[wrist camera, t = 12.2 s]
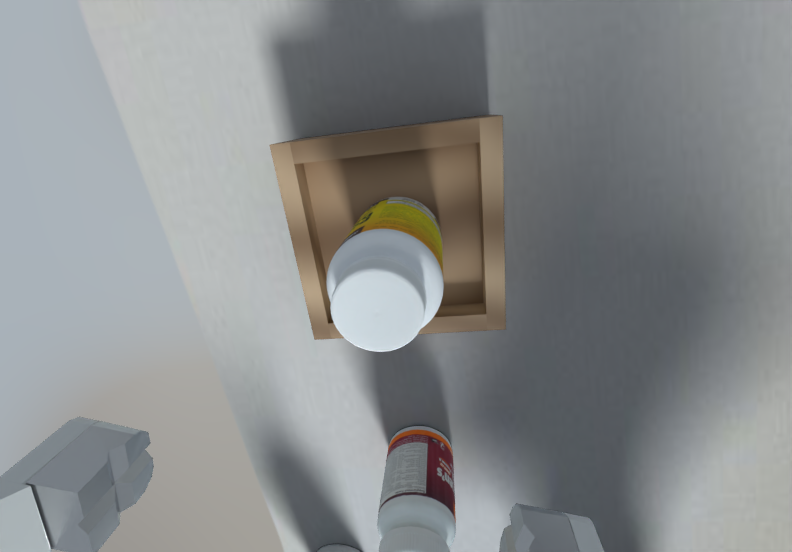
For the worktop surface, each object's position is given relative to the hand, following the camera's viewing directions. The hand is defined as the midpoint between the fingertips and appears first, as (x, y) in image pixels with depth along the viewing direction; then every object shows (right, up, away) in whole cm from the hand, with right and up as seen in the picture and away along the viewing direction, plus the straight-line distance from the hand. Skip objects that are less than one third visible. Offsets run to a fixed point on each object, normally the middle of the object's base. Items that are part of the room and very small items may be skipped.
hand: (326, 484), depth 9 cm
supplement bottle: (+2, +7, +17) cm, 19 cm away
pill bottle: (+4, -12, +29) cm, 32 cm away
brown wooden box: (+2, +9, +20) cm, 22 cm away
